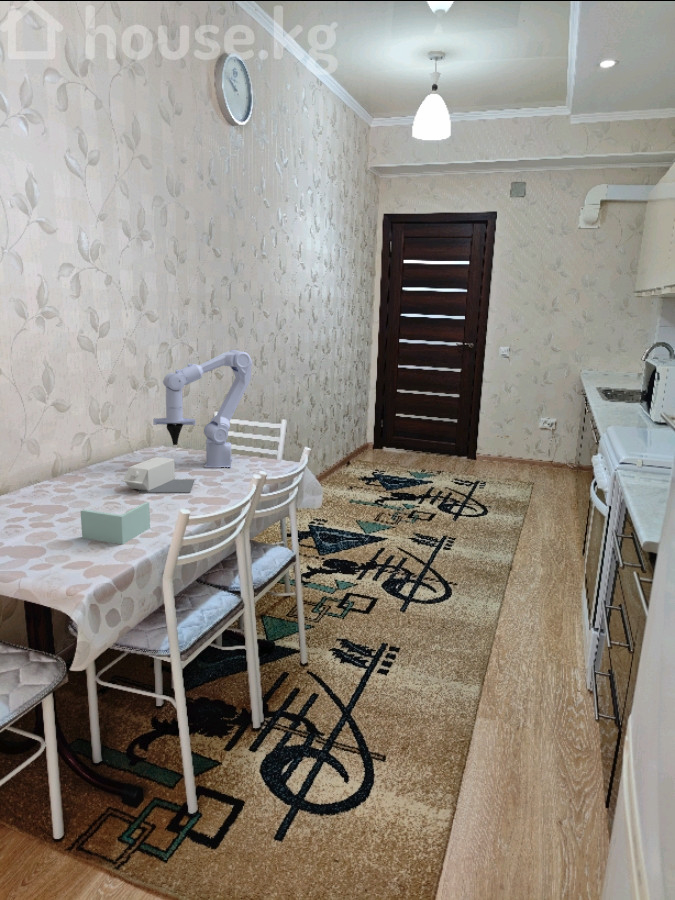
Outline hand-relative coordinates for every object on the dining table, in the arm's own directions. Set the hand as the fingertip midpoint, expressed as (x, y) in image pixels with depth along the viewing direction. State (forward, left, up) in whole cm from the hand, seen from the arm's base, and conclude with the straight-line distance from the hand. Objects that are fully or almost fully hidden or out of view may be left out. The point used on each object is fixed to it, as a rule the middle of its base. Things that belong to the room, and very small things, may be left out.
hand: (175, 444), depth 213 cm
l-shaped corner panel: (+7, +61, -10) cm, 63 cm away
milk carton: (+2, +12, -6) cm, 13 cm away
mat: (0, +21, -9) cm, 23 cm away
